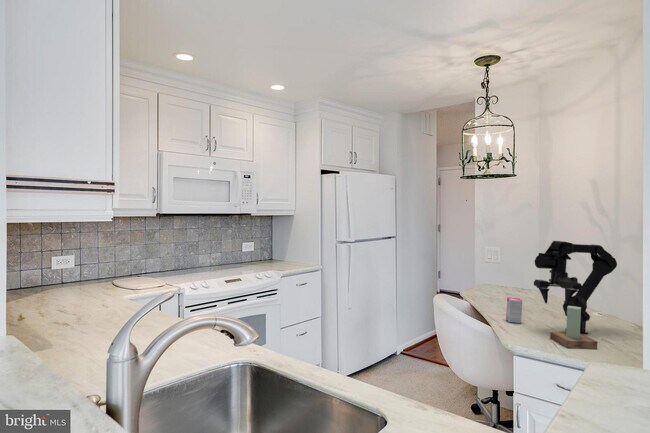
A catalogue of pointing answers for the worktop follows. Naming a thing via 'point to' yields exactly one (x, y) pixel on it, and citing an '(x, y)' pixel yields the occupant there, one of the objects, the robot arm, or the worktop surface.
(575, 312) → the sage block
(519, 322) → the supplement box
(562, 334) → the walnut base
